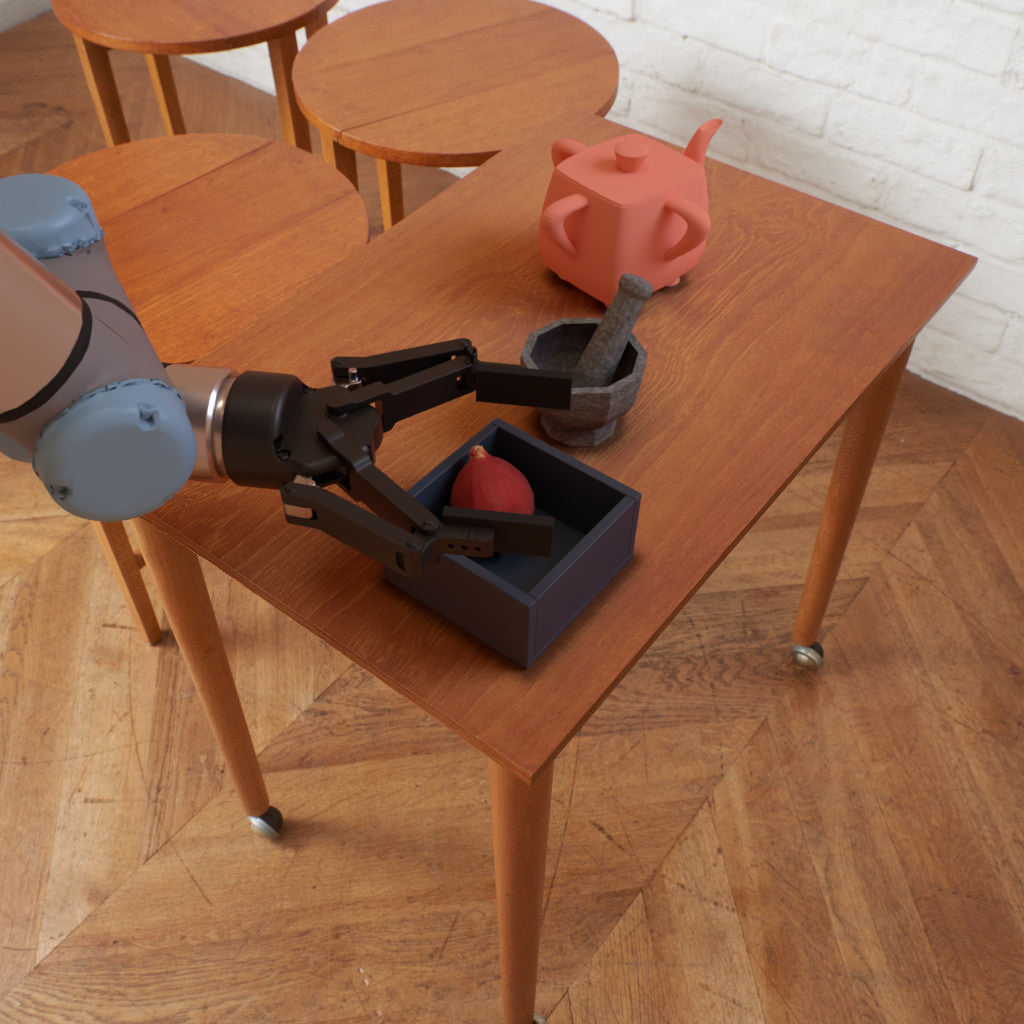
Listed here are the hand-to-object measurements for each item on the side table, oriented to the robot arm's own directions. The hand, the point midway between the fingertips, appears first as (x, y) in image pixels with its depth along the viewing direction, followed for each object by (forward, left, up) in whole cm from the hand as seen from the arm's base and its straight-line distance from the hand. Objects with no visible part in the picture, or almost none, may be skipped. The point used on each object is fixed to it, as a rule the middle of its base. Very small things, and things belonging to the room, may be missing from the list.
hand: (563, 459), depth 66 cm
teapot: (+10, +38, -11) cm, 40 cm away
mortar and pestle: (+4, +17, -11) cm, 20 cm away
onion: (-3, +1, -10) cm, 10 cm away
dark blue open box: (-3, +1, -11) cm, 12 cm away
